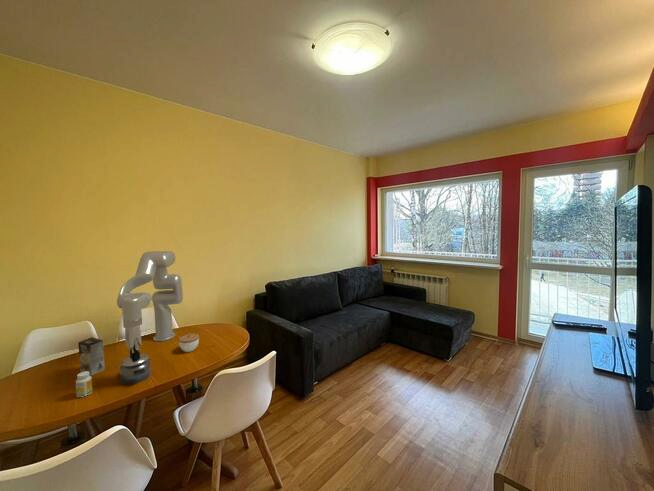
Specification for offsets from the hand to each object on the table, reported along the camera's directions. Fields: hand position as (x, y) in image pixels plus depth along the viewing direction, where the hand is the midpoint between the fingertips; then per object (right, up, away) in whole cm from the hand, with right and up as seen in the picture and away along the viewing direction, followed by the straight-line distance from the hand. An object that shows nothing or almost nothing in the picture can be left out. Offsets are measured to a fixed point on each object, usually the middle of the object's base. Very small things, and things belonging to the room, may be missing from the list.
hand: (135, 358), depth 133 cm
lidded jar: (+12, -7, +29) cm, 33 cm away
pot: (0, -10, +1) cm, 10 cm away
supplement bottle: (-14, -11, -12) cm, 21 cm away
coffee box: (-26, -9, +6) cm, 29 cm away
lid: (0, -1, 0) cm, 1 cm away
